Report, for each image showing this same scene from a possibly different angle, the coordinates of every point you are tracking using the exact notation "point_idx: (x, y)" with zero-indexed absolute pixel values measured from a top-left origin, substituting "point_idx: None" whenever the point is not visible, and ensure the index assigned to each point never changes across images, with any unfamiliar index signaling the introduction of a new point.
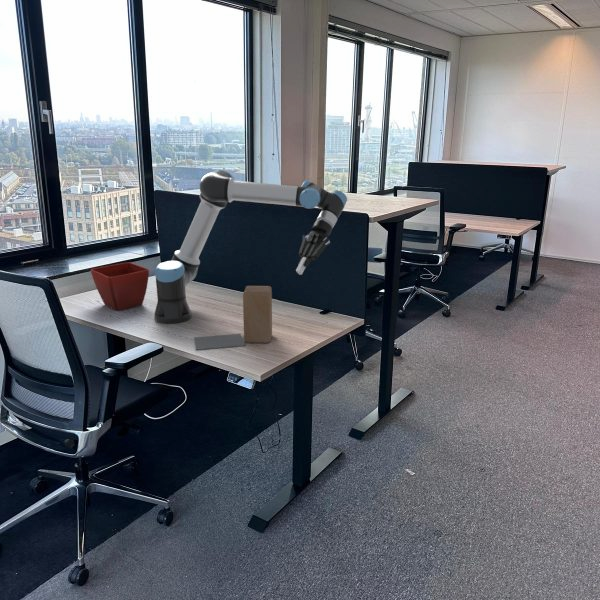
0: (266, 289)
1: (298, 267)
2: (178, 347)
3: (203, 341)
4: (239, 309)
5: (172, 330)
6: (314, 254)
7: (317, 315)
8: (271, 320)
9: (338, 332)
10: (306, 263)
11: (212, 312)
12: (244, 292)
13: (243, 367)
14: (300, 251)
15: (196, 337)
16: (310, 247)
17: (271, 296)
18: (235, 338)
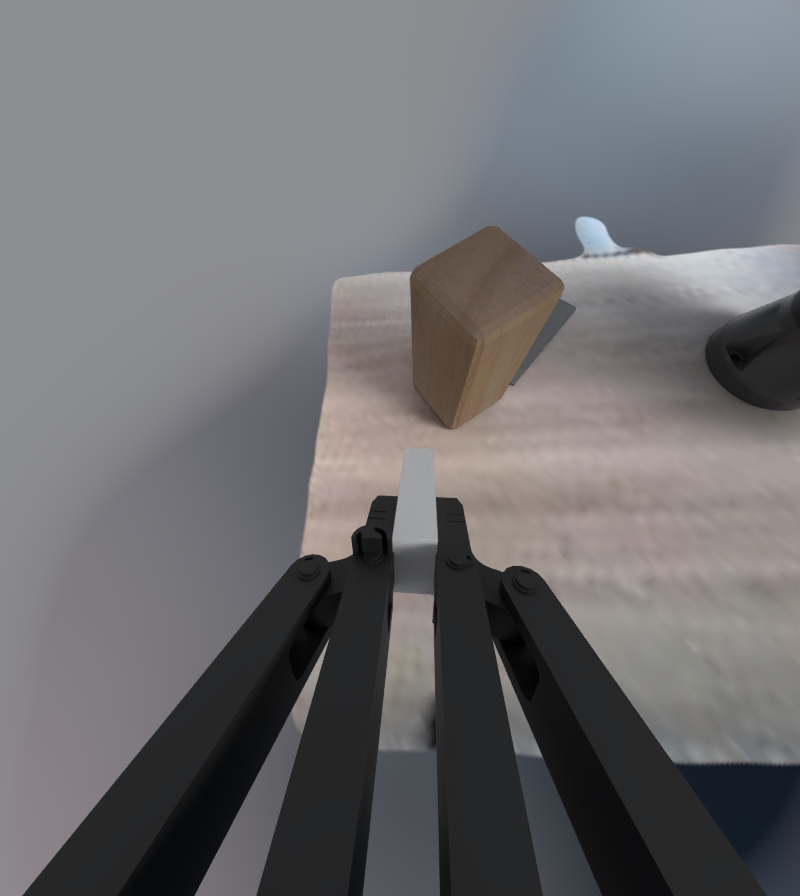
0: (449, 289)
1: (422, 463)
2: (553, 266)
3: None
4: (708, 545)
5: (661, 310)
6: (276, 591)
7: None
8: (438, 393)
9: None
10: (370, 508)
11: (737, 464)
12: (494, 227)
13: (378, 280)
14: (546, 617)
15: (571, 310)
16: (443, 832)
17: (453, 352)
18: None
